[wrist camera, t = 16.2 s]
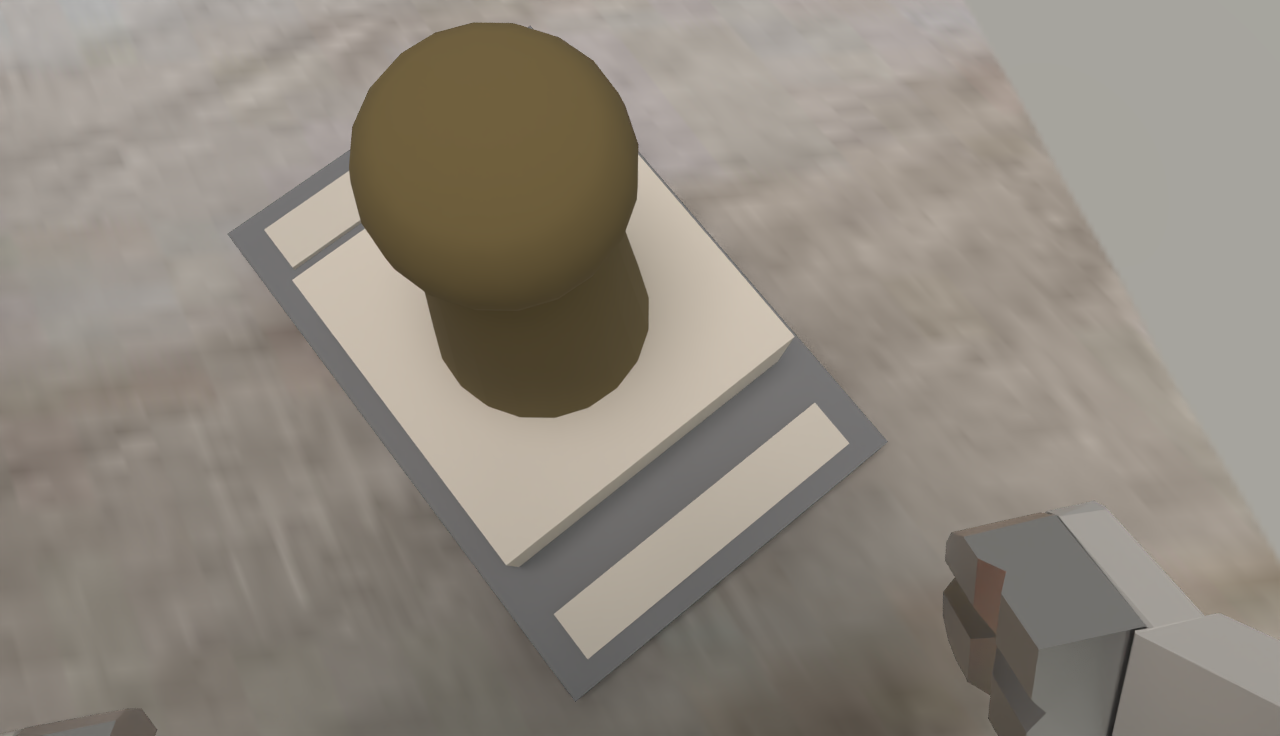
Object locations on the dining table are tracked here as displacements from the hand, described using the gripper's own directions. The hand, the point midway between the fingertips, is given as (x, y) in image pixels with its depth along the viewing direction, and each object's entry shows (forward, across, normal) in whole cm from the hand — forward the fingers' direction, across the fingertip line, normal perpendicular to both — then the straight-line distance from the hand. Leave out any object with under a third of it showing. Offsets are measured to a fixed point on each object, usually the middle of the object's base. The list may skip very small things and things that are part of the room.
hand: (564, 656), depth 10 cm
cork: (+17, 0, +5) cm, 18 cm away
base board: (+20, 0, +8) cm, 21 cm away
